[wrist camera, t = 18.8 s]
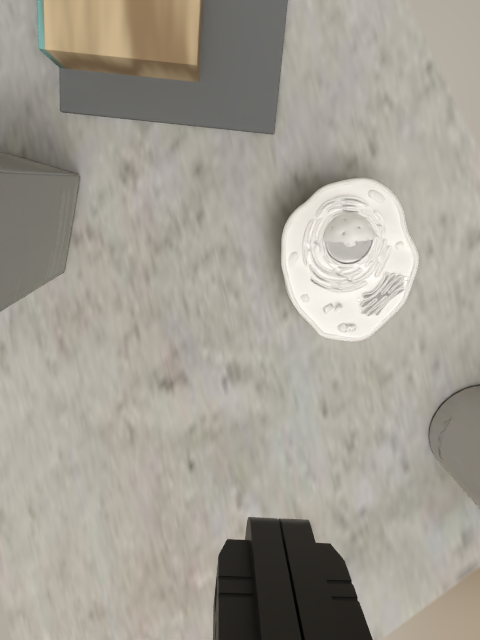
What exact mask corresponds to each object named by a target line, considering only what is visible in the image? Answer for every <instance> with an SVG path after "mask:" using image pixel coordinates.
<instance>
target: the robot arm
mask: <svg viewBox="0 0 480 640" xmlns="http://www.w3.org/2000/svg"><path fill="white" fill-rule="evenodd" d="M429 440H430V446H431V449H432V452H433V454H434V455H435V457H436V458H437V460H438V461H439V462H440V463H441V464H442V466H443V467H444V468H445V469H446V470H447V471H448V472H449V474H450V475H451V476H452V477H453V478H454V479H455V481H456V482H457V483H458V484H459V485H460V487H461V488H462V489H463V490H464V491H465V492H466V493H467V495H468V496H469V497H470V498H471V499H472V500H473V501H474V503H475V504H476V505H477V506H478V507H479V508H480V386H473V387H470V388H467V389H464V390H462V391H460V392H458V393H456V394H455V395H453V396H452V397H450V398H449V399H448V400H447V401H445V403H444V404H443V405H442V406H441V407H440V408H439V409H438V411H437V413H436V415H435V416H434V418H433V421H432V424H431V427H430V434H429ZM213 640H373V639H372V637H371V634H370V631H369V628H368V625H367V623H366V620H365V617H364V614H363V611H362V609H361V606H360V603H359V602H358V600H357V595H356V592H355V589H354V586H353V585H352V583H351V578H350V575H349V572H348V569H347V567H346V564H345V561H344V560H343V558H342V557H341V556H340V555H339V554H338V552H337V551H336V550H335V549H334V548H333V546H332V545H331V544H328V543H316V542H315V539H314V535H313V532H312V528H311V525H310V522H309V521H308V520H300V519H276V518H255V517H248V520H247V527H246V536H245V540H232V539H227V541H226V543H225V544H224V546H223V548H222V550H221V552H220V554H219V556H218V567H217V577H216V587H215V598H214V613H213Z"/></svg>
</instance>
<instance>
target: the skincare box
mask: <svg viewBox="0 0 480 640" xmlns="http://www.w3.org/2000/svg"><path fill="white" fill-rule="evenodd" d="M79 178H80V176H79V175H78V174H76V173H72V172H69V171H65V170H62V169H58V168H55V167H52V166H48V165H45V164H41V163H38V162H34V161H31V160H27V159H24V158H20V157H17V156H13V155H10V154H6V153H3V152H0V312H1V311H2V310H4V309H5V308H7V307H8V306H10V305H12V304H13V303H15V302H16V301H18V300H20V299H21V298H23V297H25V296H26V295H28V294H30V293H31V292H33V291H34V290H36V289H38V288H39V287H41V286H42V285H44V284H46V283H47V282H49V281H51V280H52V279H54V278H55V277H57V276H59V275H60V274H62V273H64V270H65V264H66V258H67V252H68V246H69V240H70V234H71V228H72V222H73V216H74V210H75V204H76V198H77V191H78V185H79Z"/></svg>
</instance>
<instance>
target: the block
mask: <svg viewBox="0 0 480 640" xmlns="http://www.w3.org/2000/svg"><path fill="white" fill-rule="evenodd" d="M203 1H204V0H37V13H38V43H39V49H40V50H41V51H42V52H43V53H44V54H45V55H46V56H47V57H49V58H50V59H51V60H52V61H53V62H54V63H55V64H57V65H58V66H59V67H60V68H63V69H73V70H83V71H93V72H102V73H112V74H122V75H132V76H142V77H152V78H162V79H172V80H182V81H192V82H199V80H200V61H201V41H202V21H203Z"/></svg>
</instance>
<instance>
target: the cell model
mask: <svg viewBox="0 0 480 640" xmlns="http://www.w3.org/2000/svg"><path fill="white" fill-rule="evenodd" d="M418 264H419V254H418V251H417V249H416V246H415V244H414V242H413V240H412V238H411V236H410V234H409V232H408V230H407V226H406V220H405V214H404V210H403V208H402V205H401V203H400V201H399V200H398V198H397V197H396V195H395V194H394V193H393V192H392V191H391V190H390V189H389V188H388V187H386V186H385V185H384V184H382V183H380V182H378V181H376V180H374V179H371V178H365V177H359V178H352V179H347V180H342V181H338V182H334V183H330V184H327V185H325V186H323V187H321V188H320V189H318V190H317V191H316V192H315V193H314V194H313V195H312V196H311V197H310V198H309V199H308V200H307V201H306V202H305V203H303V204H302V205H301V206H299V207H298V208H297V209H296V210H295V211H294V212H293V213H292V214H291V215H290V217H289V218H288V220H287V222H286V224H285V226H284V229H283V232H282V238H281V267H282V271H283V275H284V281H285V287H286V292H287V294H288V296H289V298H290V300H291V301H292V303H293V305H294V306H295V308H296V309H297V311H298V312H299V313H300V315H301V316H302V317H303V318H304V319H305V320H306V321H307V322H308V323H309V324H310V325H311V326H312V327H313V328H314V329H315V330H316V331H317V332H318V333H319V334H320V335H321V336H323V337H325V338H328V339H335V340H341V341H349V342H357V341H362V340H365V339H367V338H369V337H370V336H372V335H373V334H374V333H376V332H377V331H378V330H379V329H380V328H381V327H382V326H383V325H384V324H385V323H386V322H387V321H388V320H389V319H390V318H391V317H392V316H393V315H394V314H395V313H396V312H397V311H398V310H399V309H400V308H401V307H402V306H403V305H404V303H405V302H406V300H407V298H408V296H409V293H410V289H411V286H412V283H413V281H414V278H415V275H416V272H417V269H418Z"/></svg>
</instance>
